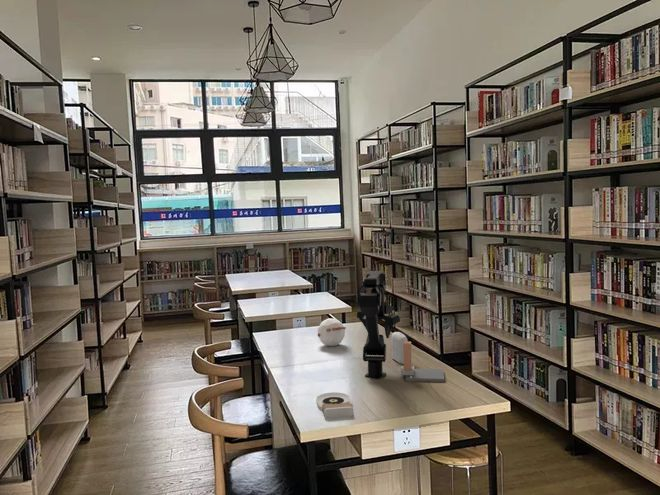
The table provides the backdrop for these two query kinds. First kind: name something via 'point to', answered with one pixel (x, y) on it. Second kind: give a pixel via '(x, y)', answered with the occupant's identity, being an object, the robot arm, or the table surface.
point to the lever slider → (407, 360)
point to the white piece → (331, 332)
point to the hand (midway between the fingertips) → (378, 336)
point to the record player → (335, 404)
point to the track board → (426, 375)
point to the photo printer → (398, 346)
